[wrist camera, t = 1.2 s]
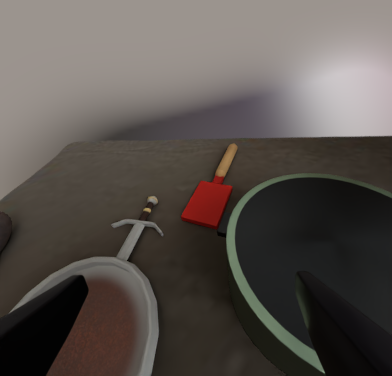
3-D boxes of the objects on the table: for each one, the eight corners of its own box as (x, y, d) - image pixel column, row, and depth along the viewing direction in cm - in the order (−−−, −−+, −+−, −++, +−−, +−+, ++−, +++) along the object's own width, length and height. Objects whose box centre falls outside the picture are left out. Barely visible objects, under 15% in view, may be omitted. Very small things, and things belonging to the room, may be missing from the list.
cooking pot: (463, 464, 12) (691, 545, 6) (200, 332, 18) (182, 309, 13) (395, 242, 22) (454, 189, 16) (239, 208, 28) (240, 162, 22)
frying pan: (203, 195, 28) (71, 617, 9) (205, 208, 30) (100, 576, 11) (107, 187, 33) (-113, 452, 14) (114, 198, 35) (-69, 444, 16)
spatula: (221, 148, 40) (220, 140, 39) (247, 151, 38) (247, 143, 37) (181, 220, 28) (179, 212, 27) (216, 229, 26) (216, 222, 25)
